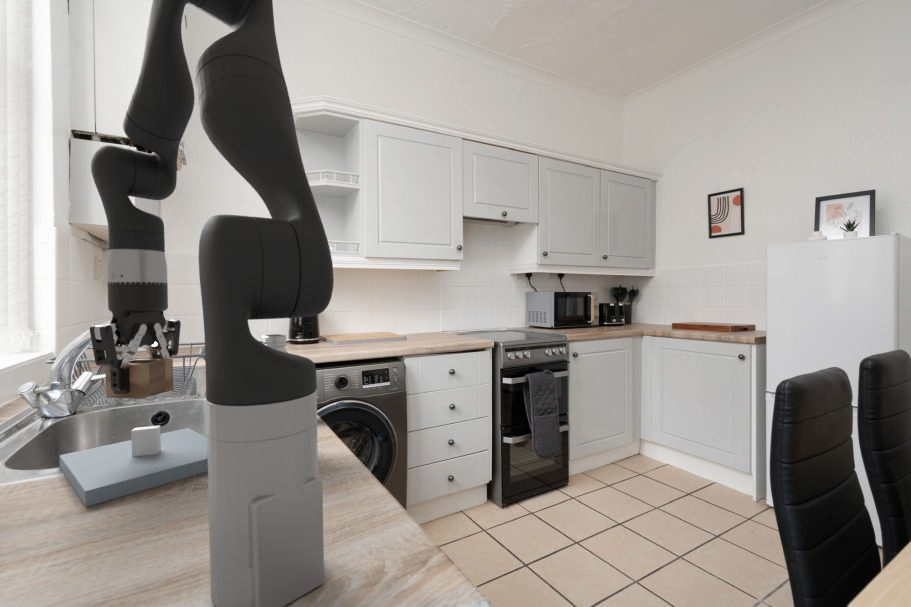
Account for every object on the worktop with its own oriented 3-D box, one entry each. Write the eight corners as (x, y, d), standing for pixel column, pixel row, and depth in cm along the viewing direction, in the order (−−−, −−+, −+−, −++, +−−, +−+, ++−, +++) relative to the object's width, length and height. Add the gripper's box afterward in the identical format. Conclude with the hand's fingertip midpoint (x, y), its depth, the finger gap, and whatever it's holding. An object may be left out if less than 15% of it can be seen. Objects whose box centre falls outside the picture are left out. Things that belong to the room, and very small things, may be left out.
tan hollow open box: (173, 389, 70) (172, 359, 70) (140, 398, 64) (140, 365, 64) (141, 389, 71) (140, 358, 71) (106, 397, 65) (105, 364, 65)
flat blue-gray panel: (233, 464, 69) (232, 426, 69) (85, 506, 55) (84, 459, 55) (188, 438, 82) (187, 406, 82) (59, 468, 68) (58, 429, 68)
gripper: (116, 278, 60) (119, 400, 60) (194, 281, 74) (197, 380, 74) (69, 279, 61) (73, 399, 61) (156, 282, 75) (158, 379, 76)
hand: (141, 388), depth 68 cm, fingers closed on tan hollow open box, 6 cm apart
